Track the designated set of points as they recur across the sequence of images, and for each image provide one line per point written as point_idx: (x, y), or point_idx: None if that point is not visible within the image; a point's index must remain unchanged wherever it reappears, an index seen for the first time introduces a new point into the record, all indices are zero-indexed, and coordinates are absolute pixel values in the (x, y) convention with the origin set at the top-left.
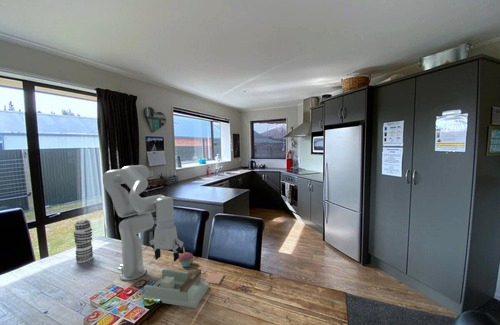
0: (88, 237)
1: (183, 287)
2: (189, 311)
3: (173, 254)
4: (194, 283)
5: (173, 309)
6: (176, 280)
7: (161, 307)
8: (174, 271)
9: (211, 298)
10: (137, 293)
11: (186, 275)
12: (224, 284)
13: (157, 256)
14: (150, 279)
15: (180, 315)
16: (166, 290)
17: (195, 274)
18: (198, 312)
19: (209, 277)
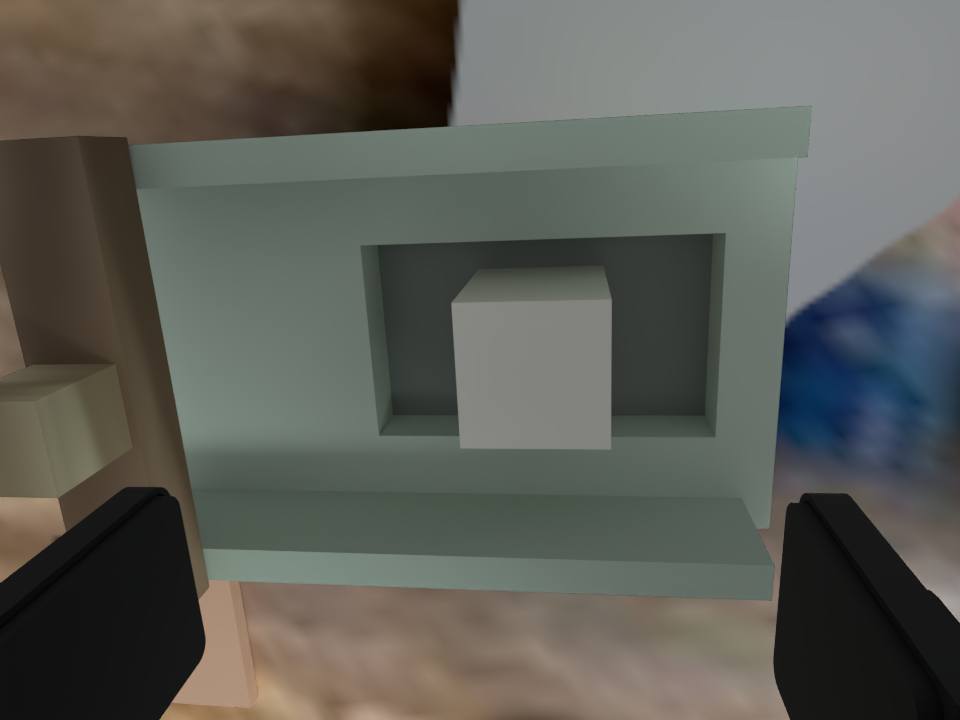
0: None
1: (17, 140)
2: (105, 102)
3: (19, 626)
4: (250, 476)
5: (289, 80)
6: (512, 493)
7: (448, 70)
8: (543, 573)
9: (18, 339)
10: (955, 221)
11: (338, 536)
12: (24, 559)
13: (816, 589)
14: (952, 511)
15: (156, 18)
16: (369, 132)
17: (79, 492)
18: (11, 115)
19: (208, 630)
